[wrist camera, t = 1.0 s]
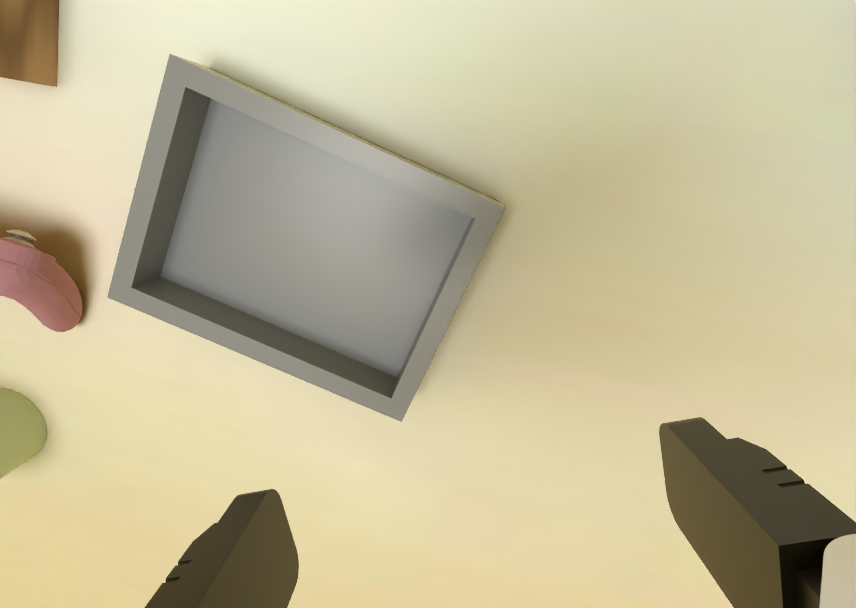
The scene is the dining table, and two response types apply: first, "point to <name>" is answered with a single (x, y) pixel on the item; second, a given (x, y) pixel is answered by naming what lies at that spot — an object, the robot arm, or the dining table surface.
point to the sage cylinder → (19, 430)
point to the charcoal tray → (296, 240)
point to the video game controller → (38, 282)
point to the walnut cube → (29, 40)
